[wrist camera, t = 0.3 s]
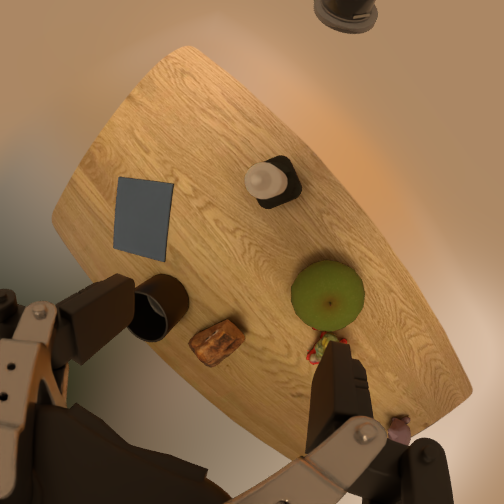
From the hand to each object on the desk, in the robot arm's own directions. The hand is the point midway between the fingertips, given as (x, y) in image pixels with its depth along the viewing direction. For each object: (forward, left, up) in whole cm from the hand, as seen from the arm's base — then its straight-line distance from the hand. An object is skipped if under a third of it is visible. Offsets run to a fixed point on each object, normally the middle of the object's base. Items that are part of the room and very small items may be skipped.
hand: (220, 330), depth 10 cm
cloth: (+4, -25, -34) cm, 43 cm away
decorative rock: (+22, -7, -34) cm, 42 cm away
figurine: (+38, +37, -34) cm, 63 cm away
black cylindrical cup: (+19, -19, -34) cm, 44 cm away
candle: (-6, -1, -34) cm, 35 cm away
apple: (+8, +9, -34) cm, 36 cm away
